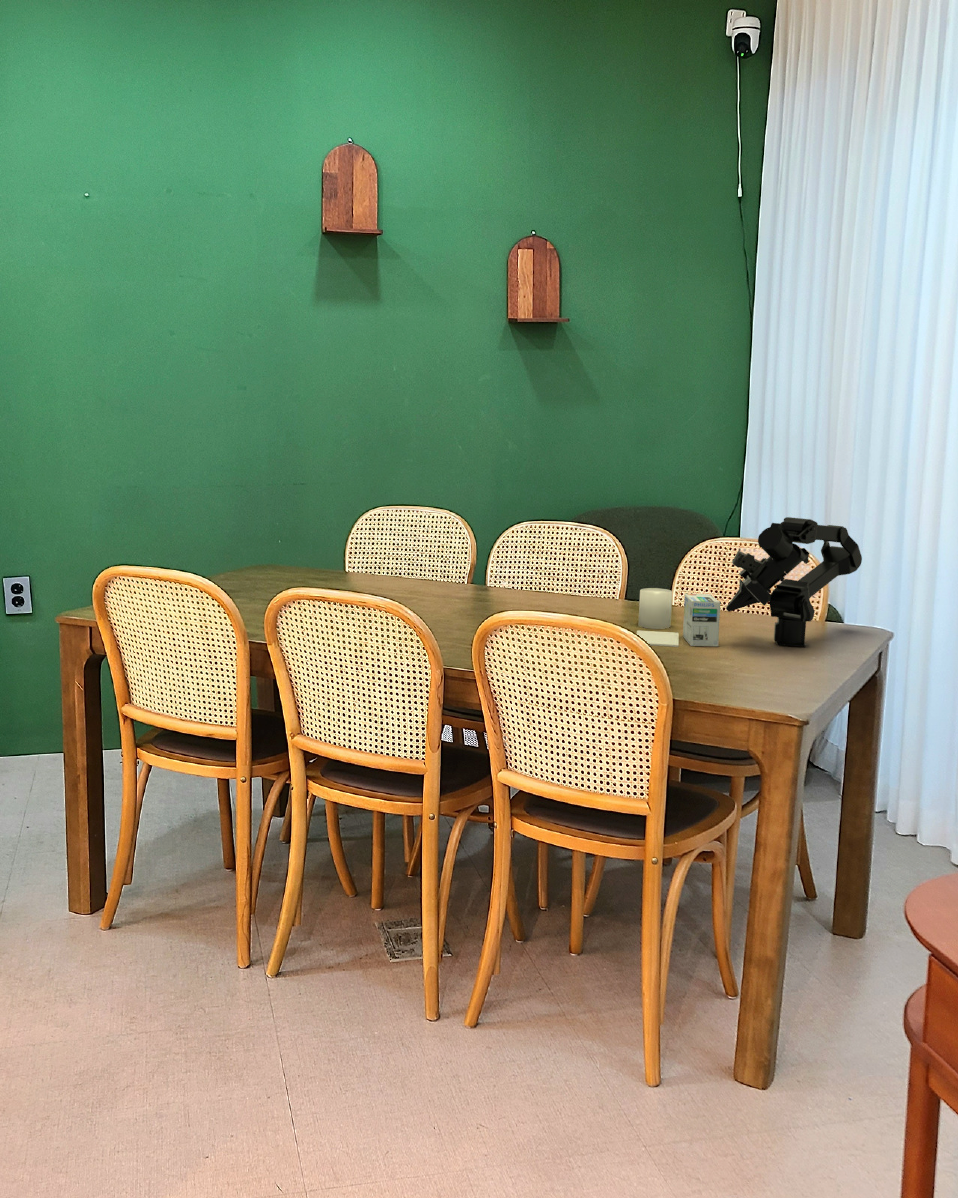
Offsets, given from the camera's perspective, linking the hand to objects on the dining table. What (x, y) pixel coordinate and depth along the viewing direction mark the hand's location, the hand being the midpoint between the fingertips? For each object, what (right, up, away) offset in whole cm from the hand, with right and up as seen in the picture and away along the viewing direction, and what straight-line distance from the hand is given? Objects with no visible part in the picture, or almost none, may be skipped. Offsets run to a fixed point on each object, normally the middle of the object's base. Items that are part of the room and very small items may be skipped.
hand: (727, 610), depth 257 cm
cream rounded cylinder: (-14, -4, +20) cm, 25 cm away
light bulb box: (-6, -8, +3) cm, 10 cm away
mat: (-16, -7, +5) cm, 18 cm away
